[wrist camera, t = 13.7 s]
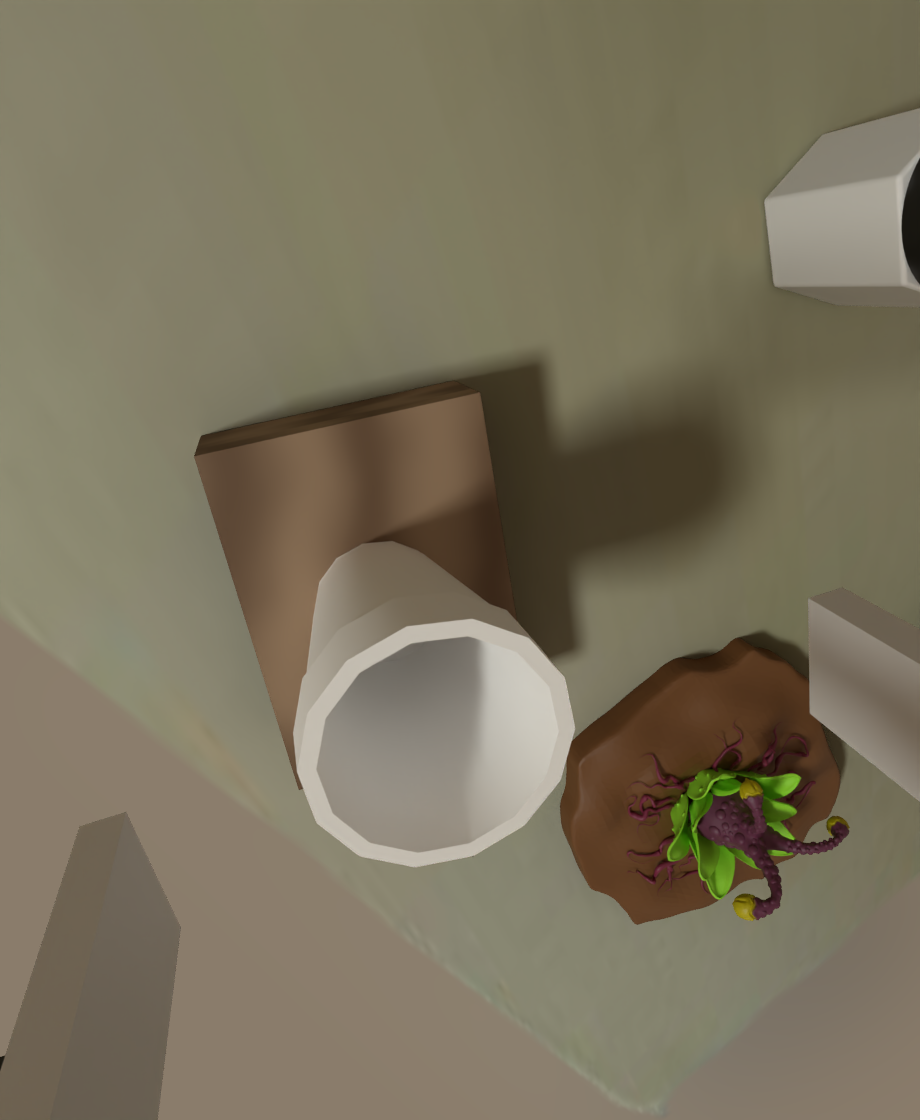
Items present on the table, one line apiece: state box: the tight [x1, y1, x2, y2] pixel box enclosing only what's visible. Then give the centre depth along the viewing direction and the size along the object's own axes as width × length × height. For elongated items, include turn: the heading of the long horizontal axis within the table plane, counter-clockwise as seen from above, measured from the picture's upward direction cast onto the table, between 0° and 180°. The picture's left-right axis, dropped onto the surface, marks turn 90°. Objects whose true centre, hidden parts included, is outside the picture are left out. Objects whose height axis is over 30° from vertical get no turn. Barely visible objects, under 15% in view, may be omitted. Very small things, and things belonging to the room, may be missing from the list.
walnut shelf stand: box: [194, 381, 517, 790], centre depth 39 cm, size 13×18×5 cm
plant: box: [560, 638, 850, 925], centre depth 48 cm, size 20×20×11 cm
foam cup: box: [293, 541, 575, 867], centre depth 31 cm, size 10×9×13 cm
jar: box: [764, 108, 920, 308], centre depth 36 cm, size 9×8×12 cm
